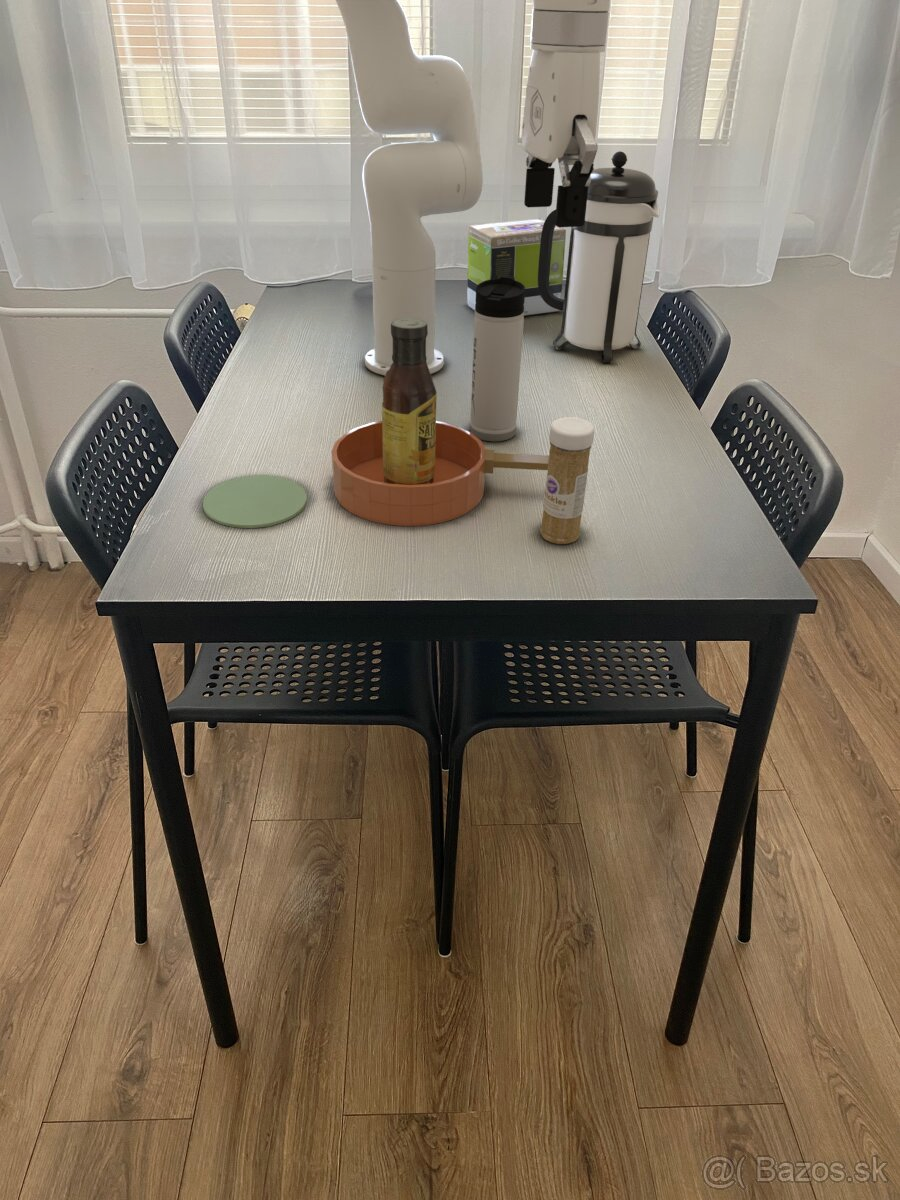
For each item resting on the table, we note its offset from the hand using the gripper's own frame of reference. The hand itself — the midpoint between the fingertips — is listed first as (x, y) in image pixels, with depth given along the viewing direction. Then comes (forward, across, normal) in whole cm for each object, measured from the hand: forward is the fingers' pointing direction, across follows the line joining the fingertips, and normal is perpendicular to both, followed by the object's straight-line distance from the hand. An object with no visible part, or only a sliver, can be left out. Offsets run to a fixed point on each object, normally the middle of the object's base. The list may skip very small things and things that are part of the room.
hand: (553, 215), depth 98 cm
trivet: (+30, +4, -36) cm, 47 cm away
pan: (+30, +5, -18) cm, 35 cm away
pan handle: (+26, +10, -4) cm, 28 cm away
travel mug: (+30, -8, -3) cm, 31 cm away
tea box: (+30, -59, +17) cm, 68 cm away
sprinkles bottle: (+30, +19, -4) cm, 36 cm away
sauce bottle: (+29, +5, -18) cm, 35 cm away
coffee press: (+30, -37, +23) cm, 53 cm away
